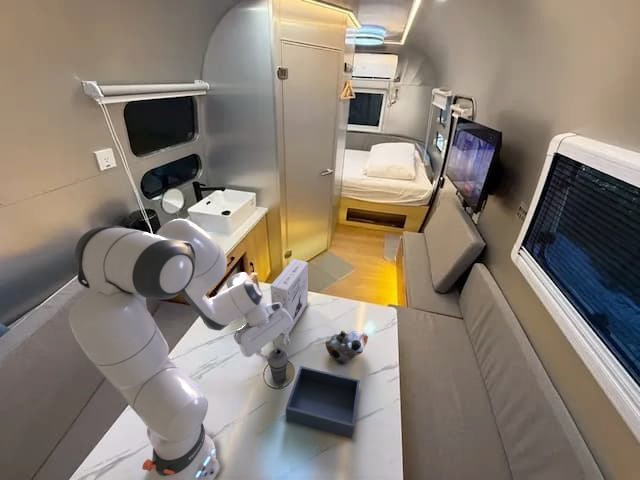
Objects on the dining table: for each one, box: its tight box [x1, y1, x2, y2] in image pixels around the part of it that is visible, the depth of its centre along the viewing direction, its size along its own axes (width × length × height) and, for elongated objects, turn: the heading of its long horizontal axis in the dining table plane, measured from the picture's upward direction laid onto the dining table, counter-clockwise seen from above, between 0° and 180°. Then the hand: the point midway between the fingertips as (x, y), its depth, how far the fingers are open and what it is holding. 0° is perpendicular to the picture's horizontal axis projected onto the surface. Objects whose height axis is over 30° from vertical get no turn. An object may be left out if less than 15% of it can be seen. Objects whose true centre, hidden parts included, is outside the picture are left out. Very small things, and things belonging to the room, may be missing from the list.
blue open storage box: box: [285, 365, 361, 440], centre depth 92 cm, size 16×22×7 cm
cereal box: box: [269, 258, 309, 334], centre depth 124 cm, size 22×8×25 cm, turn 159°
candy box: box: [247, 271, 260, 288], centre depth 133 cm, size 9×4×15 cm, turn 159°
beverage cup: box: [267, 341, 289, 387], centre depth 96 cm, size 7×7×20 cm
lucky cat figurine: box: [325, 330, 369, 364], centre depth 110 cm, size 15×12×14 cm
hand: (278, 351), depth 93 cm, fingers open, 8 cm apart
